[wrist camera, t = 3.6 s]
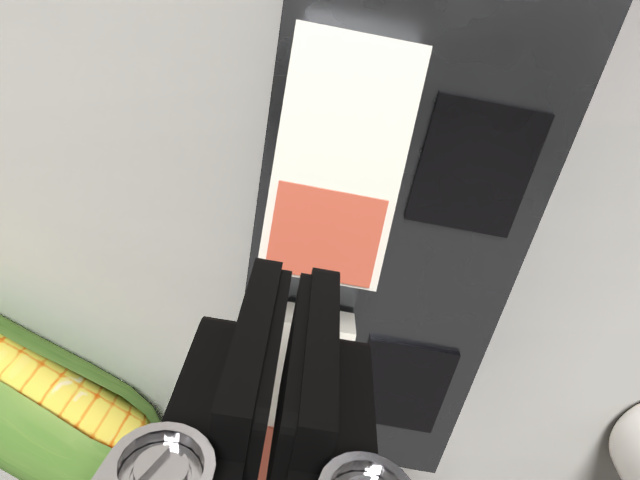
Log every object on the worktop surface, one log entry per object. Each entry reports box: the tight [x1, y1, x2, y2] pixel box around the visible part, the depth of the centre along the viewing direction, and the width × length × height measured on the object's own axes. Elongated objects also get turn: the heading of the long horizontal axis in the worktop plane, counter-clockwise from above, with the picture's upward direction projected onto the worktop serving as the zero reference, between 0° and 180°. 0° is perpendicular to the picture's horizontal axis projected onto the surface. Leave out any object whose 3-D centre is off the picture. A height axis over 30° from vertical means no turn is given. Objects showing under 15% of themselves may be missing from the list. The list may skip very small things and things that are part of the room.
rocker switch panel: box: [245, 0, 632, 473], centre depth 16 cm, size 8×24×4 cm, turn 170°
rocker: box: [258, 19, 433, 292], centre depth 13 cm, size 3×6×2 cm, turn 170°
